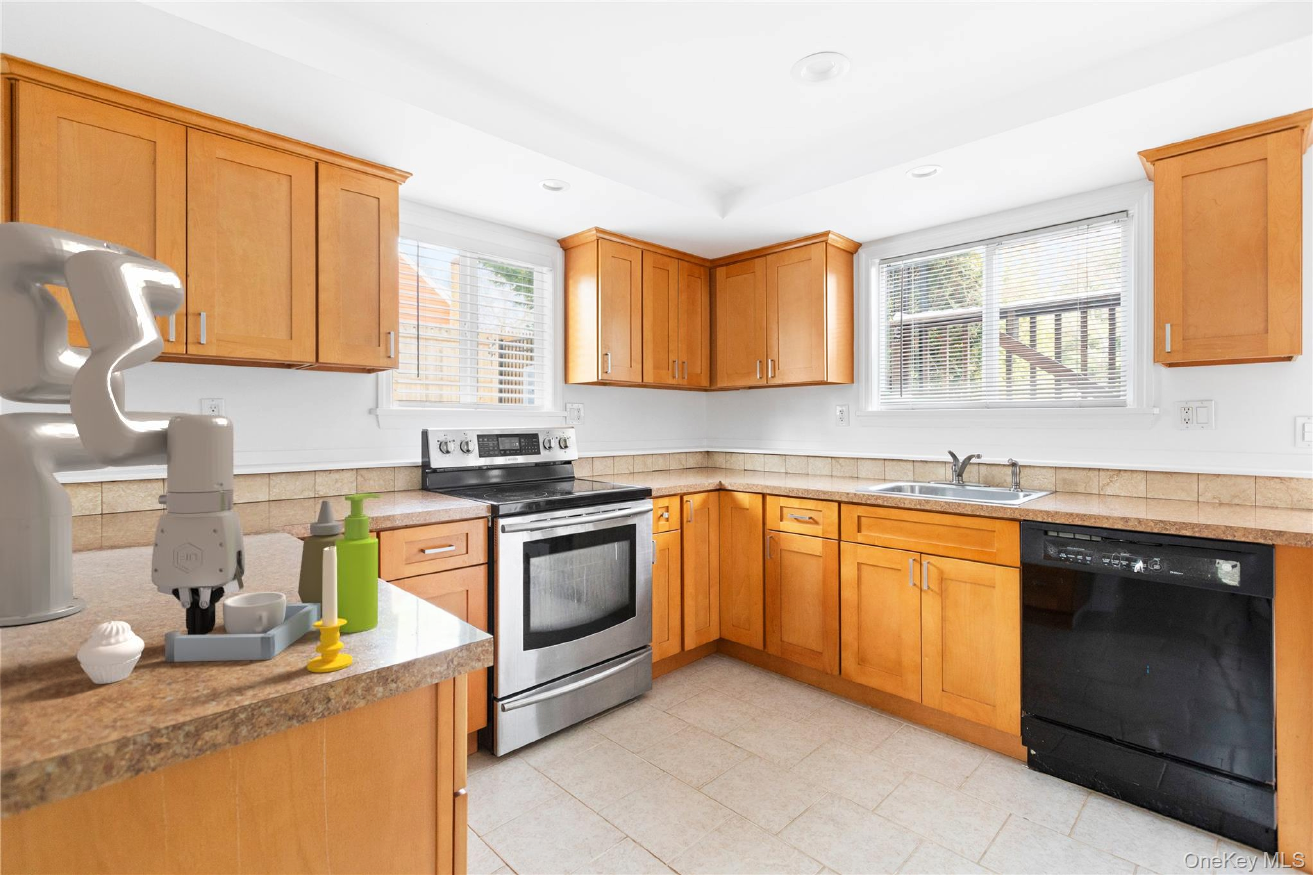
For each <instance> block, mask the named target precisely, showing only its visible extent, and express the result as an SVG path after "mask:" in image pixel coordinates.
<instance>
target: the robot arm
mask: <svg viewBox="0 0 1313 875" xmlns="http://www.w3.org/2000/svg"><path fill="white" fill-rule="evenodd" d="M47 285H51V286H57V287H62V288H66V289H67V290H68V293H69V296H70V298H71V301H72V303H73V307H74V309H75V312H76V315H77V318H78V321H79V324H80V325H81V328H82V331H83V335H84V337H85V340H86V342H87V344H88V345H87V346H88V347H82V346H72V345H70V342H69V332H68V331H69V321H68V320H69V319H68V315H67V313H66V311H65V309H64V308H63V306H62V304H61V302H60V301H59V300H58V299H57V298H56V296H54V294H53V293H52V292H51V291H50V290H49V288H47V287H46V286H47ZM184 301H185V288H184V285H183V283H182V281H181V278H180V277H179V276H178V274H177V272H175V271H174V270H173V269H172V268H171V267H169V266H168V265H167V264H165V263H163V262H161V261H159V260H157V259H154V258H153V257H149V256H147V255H145V254H143V253H140V252H138V251H136V250H135V249H132V248H129V247H127V246H125V245H121V244H118V243H114V242H110V241H106V240H103V239H98V238H94V237H90V236H86V235H82V234H79V233H75V232H72V231H68V230H63V229H58V228H54V227H50V226H45V225H40V224H37V223H30V222H18V221H8V222H2V223H0V397H1V398H2V399H4V400H6V401H9V402H10V401H11V402H14V403H22V404H23V403H24V404H33V405H34V404H36V405H37V404H38V405H69V408H70V412H69V413H68V412H45V411H44V412H41V411H40V412H37V411H35V412H34V411H33V412H32V411H29V412H28V411H24V412H23V411H22V412H20V411H19V412H9V413H4V414H0V627H6V626H9V627H10V626H20V625H26V624H28V625H29V624H34V623H41V622H45V621H51V620H55V619H59V618H63V617H66V616H67V617H68V616H70V615H73V614H76V613H78V612H80V611H82V610H83V609H85V608H86V605H87V603H86V599H85V598H83V597H79V596H73V595H74V594H73V593H74V592H73V591H74V589H73V587H74V586H73V585H74V584H73V582H74V581H73V580H74V578H73V577H74V576H73V575H74V574H73V504H72V502H73V501H72V498H71V495H70V493H69V492H68V490H67V489H66V488H65V487H64V485H62V484H61V481H59V480H58V479H57V478H56V477H55V475H54V474H57V473H66V472H83V471H97V470H103V469H106V468H109V467H111V468H127V467H140V466H141V467H143V466H155V465H156V466H165V465H166V485H167V486H166V492H165V494H160V495H159V496H158V498H157V499H158V500H157V501H158V504H160V505H165V510H166V512H165V513H162V514H160V516H159V518H158V522H157V526H156V530H155V534H154V540H153V546H152V557H151V558H152V559H151V571H150V573H151V574H150V576H151V581H152V584H153V585H154V586H156V590H157V592H158V593H159V594H165V595H169V596H170V595H171V596H173V597H174V598H176V599H177V601H178V602H180V606H181V607H182V608H183V609H185V628H186V629H187V635H209V634H210V633H211V632H213V631H214V628H215V626H216V604H217V603H219V602H220V601H221V599H222V598H223V597H225V595H229V594H234V593H237V592H239V591H241V590H243V589H244V587H245V586H244V582H243V577H244V575H245V569H246V554H245V553H246V552H245V541H244V534H243V528H242V523H241V519H240V516H239V512H238V511H236V510H235V511H234V424H233V422H232V420H231V419H230V418H229V417H227V416H224V415H219V414H192V413H188V412H187V413H185V412H172V411H171V412H169V411H167V412H161V411H137V410H136V411H134V410H132V411H131V410H130V411H125V407H126V405H125V404H126V402H125V400H126V388H125V387H126V385H125V382H126V381H125V374H124V371H125V370H129V369H132V368H136V367H138V366H139V367H140V366H141V365H144V364H147V363H149V362H152V361H153V360H155V359H156V358H158V357H159V356H160V355H161V354H162V353H163V351H164V350H165V342H164V339H163V337H162V334H161V331H160V329H159V326H158V323H157V321H156V318H155V317H159V318H165V317H168V318H169V317H172V316H174V315H175V314H177V313H178V312H180V310H181V308H182V307H183V305H184Z"/></svg>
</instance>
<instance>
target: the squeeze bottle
mask: <svg viewBox="0 0 1313 875" xmlns="http://www.w3.org/2000/svg"><path fill="white" fill-rule="evenodd" d="M342 530H343V523H342V522H341V521H336V520H335V516H334V511H333V508H332V503H331V500H329V499H328V500H322V501H321V504H320V508H319V513H318V518H317V521H316V522H312V523H310V524H309V535H310V536H307V537H305V539H304V540H303V544H302V553H301V554H302V555H301V562H300V572H299V580H298V581H299V582H298V589H297V590H298V591H297V593H298V596H299V598H300V600H301V601H300V602H301V603H321V616H322V590H323V550H324V549H325V548H327V547H329V544H330V546H335V541H337V540H340V539H343V538H344V534H343V533H342V532H343V531H342Z"/></svg>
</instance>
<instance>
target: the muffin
mask: <svg viewBox="0 0 1313 875" xmlns="http://www.w3.org/2000/svg"><path fill="white" fill-rule="evenodd" d="M90 633H91V636H90V638H88V639H87V640H86V643H84V645H82V646H81V647H80V648H79V649H78V651H77V654H76V658H77V660H78V662H79V663H80V667H81V669H83V671H84V672H85V673H86V675H87V676H88V677H89V678H90V679H91V681H92V682H93V684H96V685H102V684H103V685H106V684H113V683H116V682H120V681H122V680H125V679H127V678H128V677H129V676H130V675H131V673H132V671H133V670H134V668H135V666H136V665H137V662H138V661H139V660H140V658H141V656H142V652H143V650H144V649H145V641H144V640H143V639H142V638H141V637H139V636H138V635H137V634H135V632H134V631H132V629H131V625H130V624H129V623H127V622H125V621H122V620H120V621H119V620H115V621H113V620H110V621H108V622H103V623H101V624H99V625H97V626H95V628H94V629H93V630H92V631H91V632H90Z"/></svg>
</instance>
